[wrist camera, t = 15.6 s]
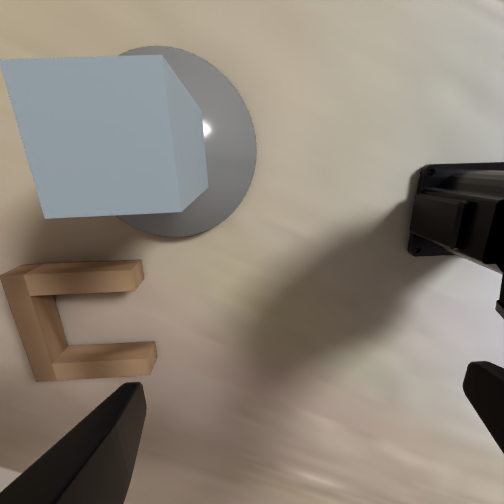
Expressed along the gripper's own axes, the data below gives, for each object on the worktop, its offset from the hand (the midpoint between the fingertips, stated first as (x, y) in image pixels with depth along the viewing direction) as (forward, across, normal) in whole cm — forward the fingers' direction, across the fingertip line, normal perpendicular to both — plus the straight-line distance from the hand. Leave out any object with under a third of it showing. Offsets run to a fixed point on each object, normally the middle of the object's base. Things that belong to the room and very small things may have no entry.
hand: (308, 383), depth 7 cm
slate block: (+12, +6, -6) cm, 15 cm away
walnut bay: (+13, +13, +5) cm, 19 cm away
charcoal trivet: (+13, +6, -6) cm, 16 cm away
